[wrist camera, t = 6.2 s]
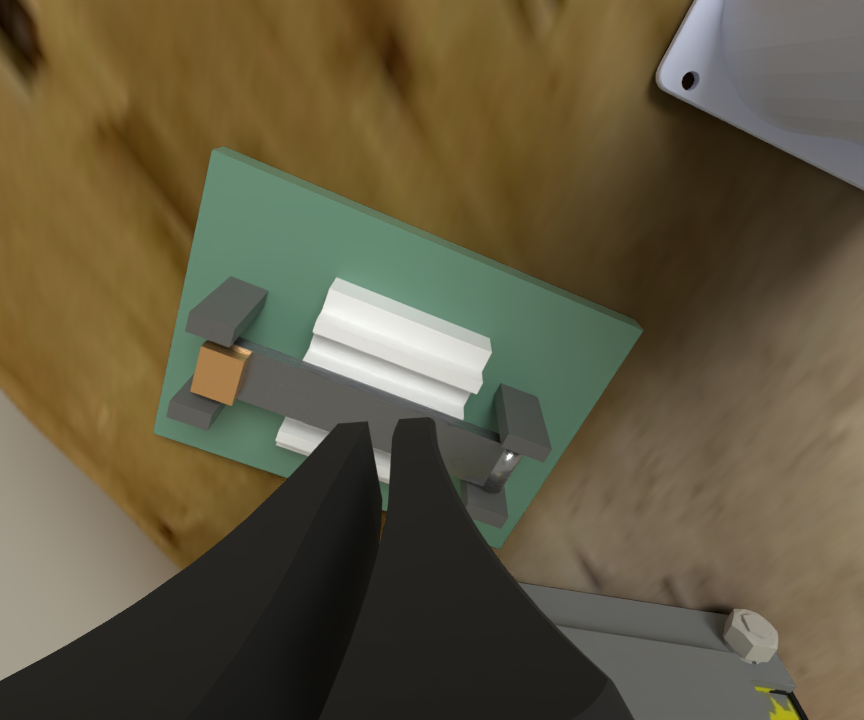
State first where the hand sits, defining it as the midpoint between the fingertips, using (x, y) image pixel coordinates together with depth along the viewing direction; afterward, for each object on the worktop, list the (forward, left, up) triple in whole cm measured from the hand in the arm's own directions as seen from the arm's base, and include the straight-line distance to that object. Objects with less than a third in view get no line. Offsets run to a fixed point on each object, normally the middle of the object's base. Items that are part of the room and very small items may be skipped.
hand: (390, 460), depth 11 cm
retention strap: (0, +4, -7) cm, 8 cm away
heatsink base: (0, +4, -10) cm, 11 cm away
